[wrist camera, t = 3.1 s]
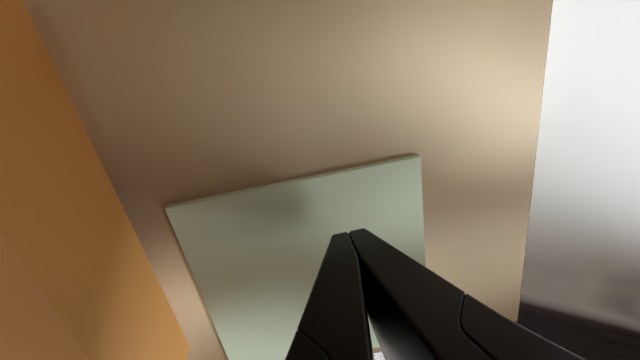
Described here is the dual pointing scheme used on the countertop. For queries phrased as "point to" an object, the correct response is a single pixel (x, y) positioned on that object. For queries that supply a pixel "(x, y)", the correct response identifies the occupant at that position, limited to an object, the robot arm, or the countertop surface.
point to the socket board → (307, 143)
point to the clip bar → (66, 227)
